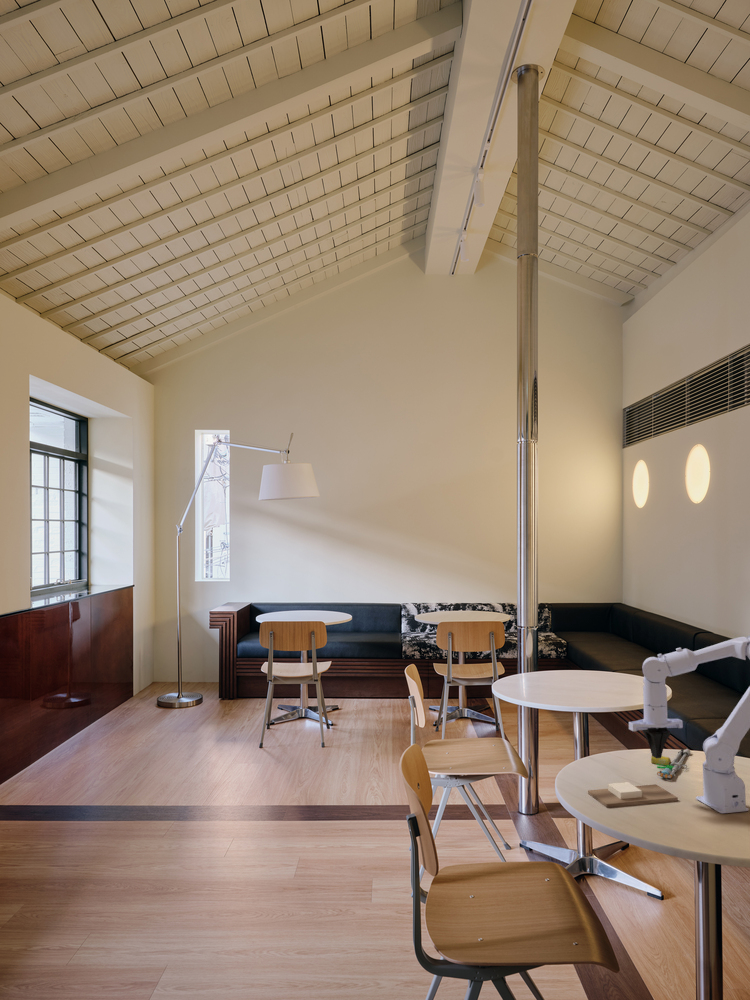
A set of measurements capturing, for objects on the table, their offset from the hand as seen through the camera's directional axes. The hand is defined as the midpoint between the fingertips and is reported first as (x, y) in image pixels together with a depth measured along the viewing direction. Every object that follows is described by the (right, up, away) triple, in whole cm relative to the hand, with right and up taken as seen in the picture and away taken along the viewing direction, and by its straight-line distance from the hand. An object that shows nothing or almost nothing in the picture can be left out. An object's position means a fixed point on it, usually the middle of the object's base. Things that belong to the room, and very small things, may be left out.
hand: (656, 756), depth 172 cm
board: (-7, -10, -1) cm, 12 cm away
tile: (-6, -8, -1) cm, 10 cm away
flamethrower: (+14, -12, +22) cm, 29 cm away
